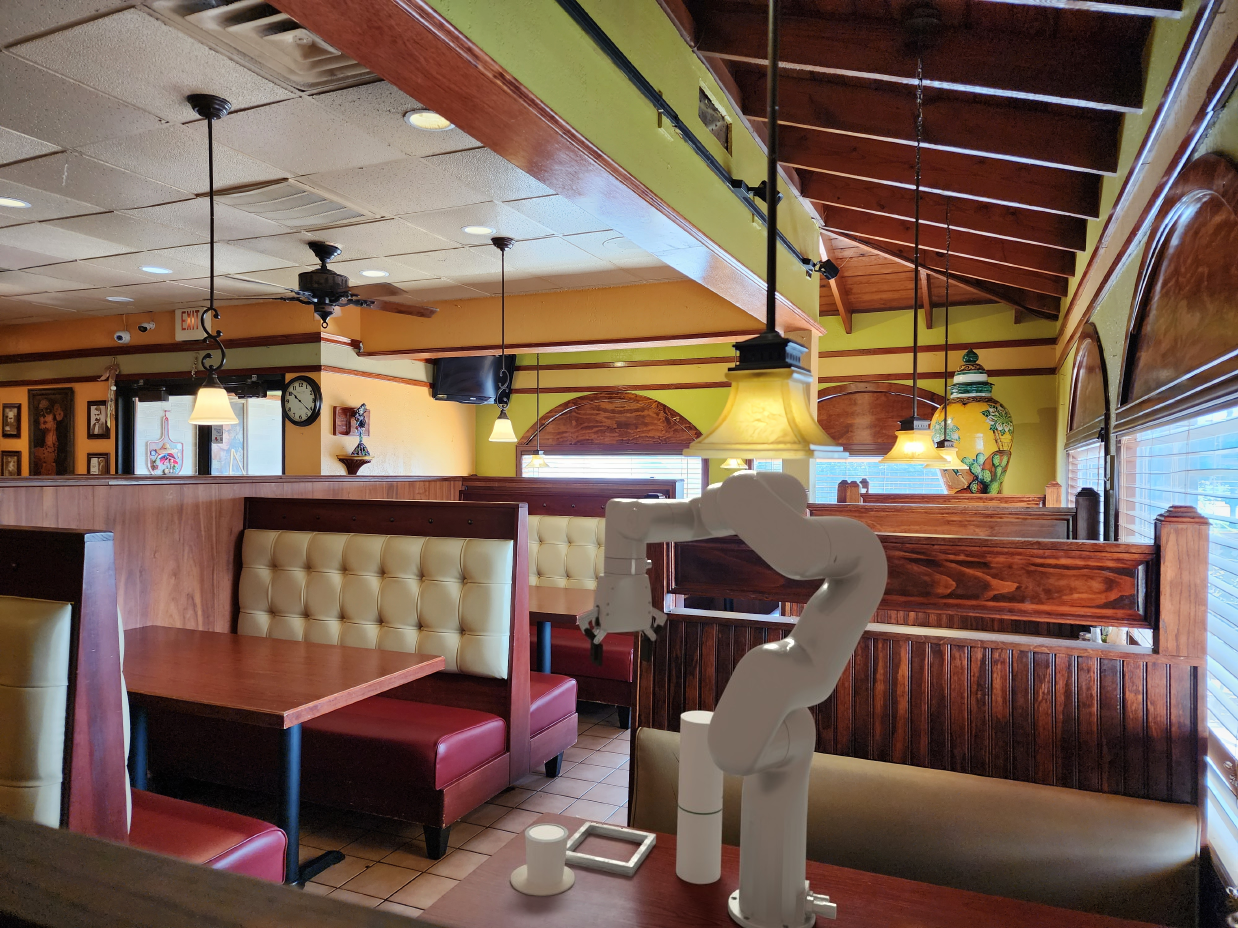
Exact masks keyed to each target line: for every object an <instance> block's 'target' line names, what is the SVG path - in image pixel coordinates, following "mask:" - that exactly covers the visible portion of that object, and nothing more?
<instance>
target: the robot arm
mask: <svg viewBox="0 0 1238 928" xmlns="http://www.w3.org/2000/svg"><path fill="white" fill-rule="evenodd" d="M807 505H808V494H807V490H806V488H805V486H804V485H803V484H802V482H801V481H800V480H798V478H797V477H795V476H793V475H792V474H789V473H786V472H783V471H774V470H773V471H772V470H754V469H746V470H745V469H744V470H739V471H735V472H734V473H732V474H730V475H729V476H727V477H726V478H725V479H724V480H723V481H722V482H716V483H712V484H710V485H708V486H707V487H706V488H705V489H704V490H703V491H702V493H701V495H700V496H697V497H690V498H682V499H681V498H680V499H679V498H640V499H637V498H611V499H610V500H608V501H607V503H606V504H605V518H604V519H605V520H604V523H605V524H604V549H603V550H604V552H603V573H600V574H599V575H598V578H597V582H596V586H595V592H594V598H593V599H594V600H593V605H592V609H590V610H588V611H587V612H585V613H584V614H582V615H580V616H578V617H577V619H576V621H577V623H578V626H579V628H580V630H581V633H582V634H583V635H584V636H585V637H586V638H587V640H588V641H589V642H590V645H589V646H590V648H589V649H590V650H589V659H590V661H591V663H592V665H594V666H596V667H599V668H601V667H602V666H603V662H604V660H603V657H604V655H603V654H604V644H603V643H601V641H602V640H603V639H604V637H605V636H606V635H607V634H608V633H626V632H627V633H628V632H629V633H631V632H640V633H641V634H642V636H643V637H641V638H640V653H639V657H640V660H641V661H643V662H645V663H647V664H651V663H652V657H654V656H653V655H654V641H656V639H657V636H658V635H659V634H660V632H661V631H662V630H663V627H664V625H665V622H666V620H667V618H668V615H667V614H666V613H664V612H662V611H660V610H659V609H657V608H655V607H653V606H652V605H653V604H652V601H653V600H652V591H651V584H650V578H649V575H647V574H646V572H647V569H651V568H652V566H653V562H652V561H651V560H648V557H647V544H651V543H652V544H653V543H654V544H655V543H658V544H659V543H671V542H672V543H673V542H674V543H679V542H681V543H682V542H691V541H696V540H705V539H711V538H722V537H726V536H734V535H737V536H738V537H739V538H740V539H741V540H742V541H743V542H744V543H745V544H746V545H747V546H748V547H750V548H751V549H752V550H753V551H754V552H755V553H756V554H757V555H758V556H759V557H761V558H762V560H764V562H766V563H767V564H768V565H770V567H771V568H773V570H775V571H776V572H777V573H779V574H780V575H783V576H785V577H786V578H790V579H792V580H798V581H806V580H807V581H808V580H818V579H825V580H824V581H823V583H822V585H821V586H820V587H819V589H818V590H817V591H816V592H815V593H814V594H813V595H812V596H811V597H810V598H809V600H808V601H807V603H806V604H805V605H804V607H803V609H802V612H801V613H800V616H799V618H798V620H797V622H796V624H795V625H794V628H793V629H792V630H791V632H790V633H789V634H788V636H786V637H785V638H783V639H780V640H776V641H772V642H767V643H763V644H760V645H757V646H755V647H754V648H752V649H750V650H748V652H747V653H745V654H744V655H743V657H742V658H740V660H739V662H738V663H737V665H736V667H735V669H734V671H733V672H732V675H731V676H730V677H729V678H730V679H729V680H728V682H727V684H726V686H725V689H724V691H723V692H722V695H721V697H720V699H719V701H718V703H717V705H716V707H715V710H713V712H714V713H713V716H712V718H711V721H710V724H709V728H708V735H707V743H708V749H709V753H710V756H711V758H712V760H713V762H714V763H715V765H716V766H717V767H718V768H719V769H720V770H722V771H723V773H724V774H727V775H729V776H732V777H733V776H734V777H741V778H742V777H743V781H742V789H741V807H740V808H741V809H740V811H741V812H740V839H739V840H740V841H739V843H740V844H739V874H738V875H739V876H738V877H739V880H738V889H736V890H735V891H734V892H732V893H731V894H730V896H729V897H728V900H727V910H728V914H729V915H730V917H731V918H732V920H733V921H735V923H736V924H738V925H739V926H741V927H743V928H813V927H814V926H815V922H816V915H817V916H822V918H823V917H824V918H829V919H833V920H836V918H837V904H836V903H832V902H830V896H829V895H824V894H816V893H814V891H813V890H810V880H806V869H807V868H806V866H807V865H806V862H807V857H806V855H807V829H808V827H807V826H808V825H807V823H808V821H807V819H808V804H809V803H808V801H809V800H808V797H809V782H810V774H811V773H810V772H811V767H812V763H813V759H814V758H813V756H814V752H815V747H816V740H817V738H816V735H817V733H816V732H817V730H816V723H815V720H814V717H813V714H812V712H811V711H810V710H809V707H813V706H815V705H818V704H820V703H822V702H824V701H825V700H827V699H828V698H829V696H831V694H832V693H833V691H834V690H835V688H836V686H837V684H838V682H839V679H840V678H841V676H842V674H843V672H844V670H845V669H846V667H847V665H848V663H849V660H850V658H851V657H852V655H853V654H854V651H855V650H856V648H857V645H858V643H859V641H860V639H861V638H862V635H863V633H864V632H865V630H866V628H867V627H868V625H869V623H870V622H871V620H872V618H873V617H874V614H875V612H876V611H877V609H878V607H879V605H880V602H881V601H882V599H883V596H884V593H885V589H886V587H887V582H888V561H887V556H886V552H885V549H884V546H883V545H882V543H881V540H880V538H879V537H878V536H877V535H876V533H875V532H874V531H873V530H872V529H871V528H870V527H869V526H868V525H867V524H865V523H864V522H862V521H859V520H857V519H854V518H850V517H847V516H837V515H836V516H835V515H833V516H830V515H829V516H827V515H825V516H824V515H823V516H803V515H804V514H805V512H806V509H807V507H808V506H807ZM653 617H655V622H654V623H653V624H652V621H653V620H652V619H653ZM590 621H591V622H592V626H593V627H594V628H593V629H591V628H590V625H589V622H590Z"/></svg>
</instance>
